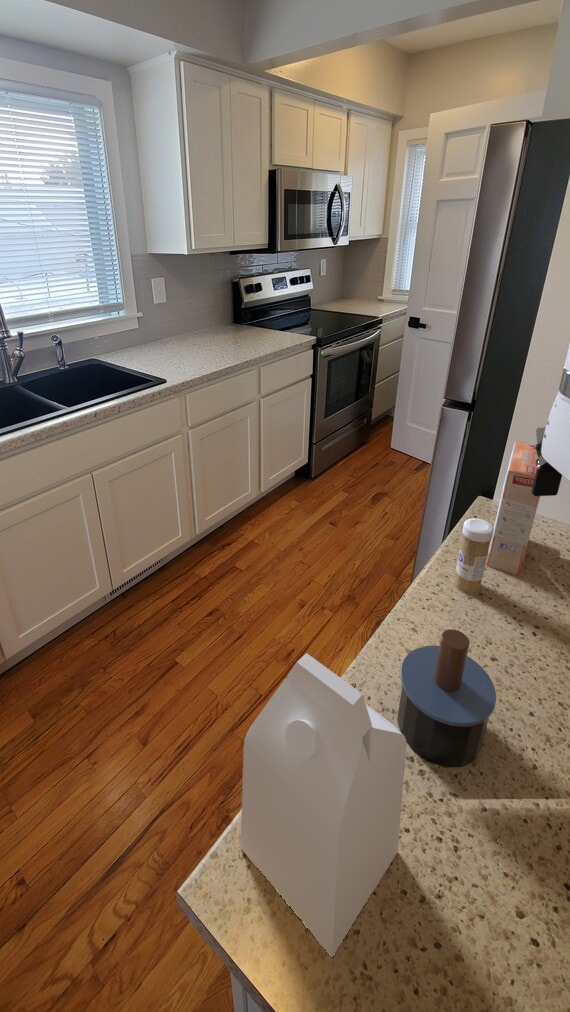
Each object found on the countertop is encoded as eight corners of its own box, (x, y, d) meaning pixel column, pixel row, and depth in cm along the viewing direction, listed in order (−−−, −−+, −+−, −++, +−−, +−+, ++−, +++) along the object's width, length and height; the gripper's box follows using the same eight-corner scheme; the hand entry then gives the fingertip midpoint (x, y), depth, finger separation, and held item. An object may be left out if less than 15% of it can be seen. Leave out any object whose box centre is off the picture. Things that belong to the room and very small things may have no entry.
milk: (397, 851, 51) (428, 678, 40) (332, 959, 44) (348, 783, 33) (308, 768, 59) (314, 605, 48) (240, 848, 52) (229, 676, 41)
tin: (461, 695, 67) (471, 650, 64) (494, 770, 58) (507, 723, 55) (389, 695, 68) (394, 651, 64) (410, 770, 58) (418, 723, 55)
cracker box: (520, 578, 88) (546, 477, 79) (484, 567, 91) (505, 469, 82) (526, 537, 99) (550, 445, 90) (494, 529, 102) (513, 438, 93)
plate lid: (472, 651, 64) (482, 604, 61) (511, 730, 55) (526, 679, 51) (390, 652, 65) (396, 605, 61) (414, 730, 55) (423, 680, 51)
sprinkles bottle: (447, 581, 88) (458, 519, 82) (469, 577, 89) (481, 515, 83) (463, 599, 84) (476, 535, 78) (486, 594, 85) (500, 530, 79)
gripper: (699, 414, 46) (646, 558, 53) (585, 363, 62) (556, 479, 69) (619, 418, 46) (577, 561, 53) (525, 366, 62) (502, 482, 69)
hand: (565, 515), depth 61 cm, fingers open, 9 cm apart
